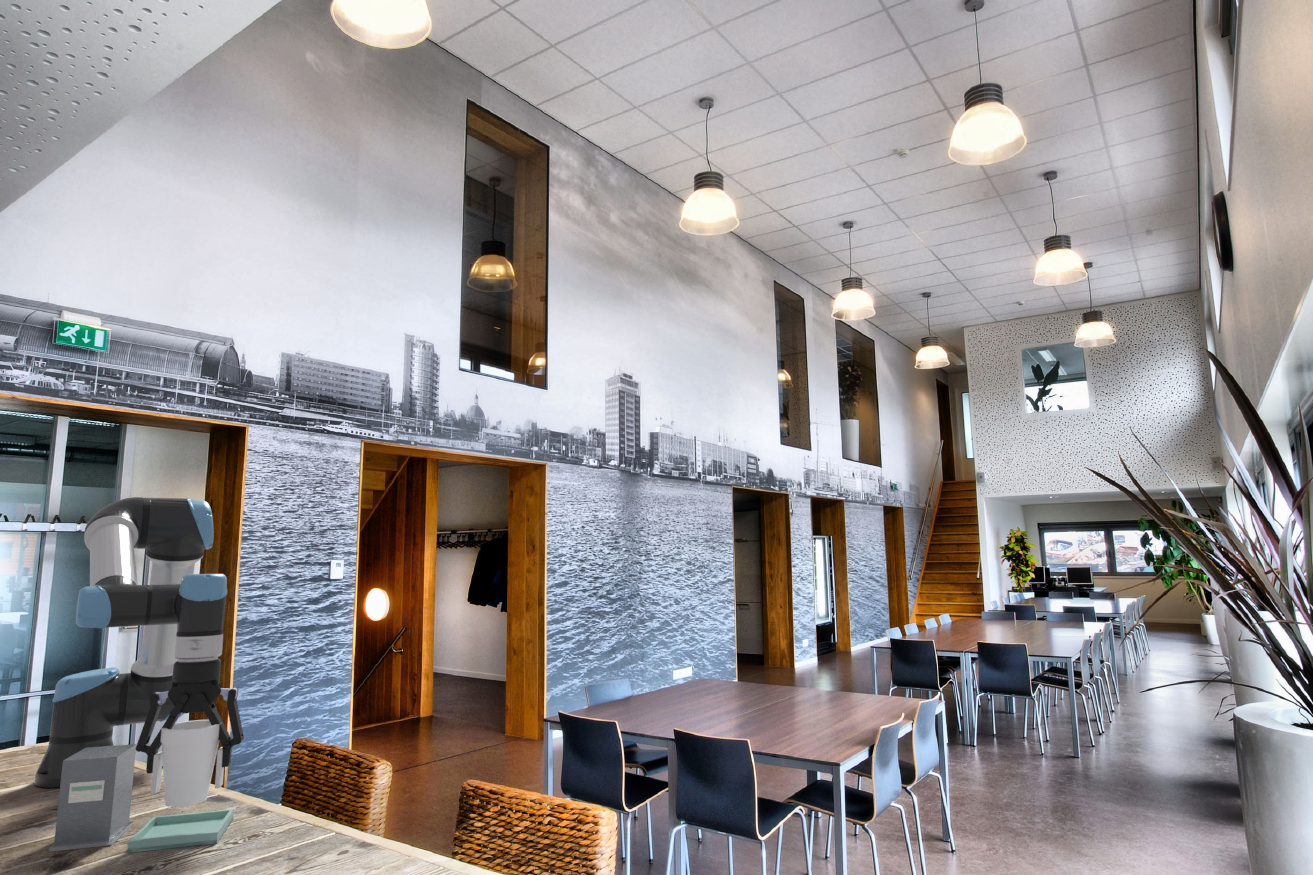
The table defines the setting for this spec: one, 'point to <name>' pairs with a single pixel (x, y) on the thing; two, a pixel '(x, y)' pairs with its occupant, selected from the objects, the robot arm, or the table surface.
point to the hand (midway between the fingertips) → (187, 788)
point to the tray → (181, 830)
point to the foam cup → (188, 761)
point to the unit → (94, 797)
